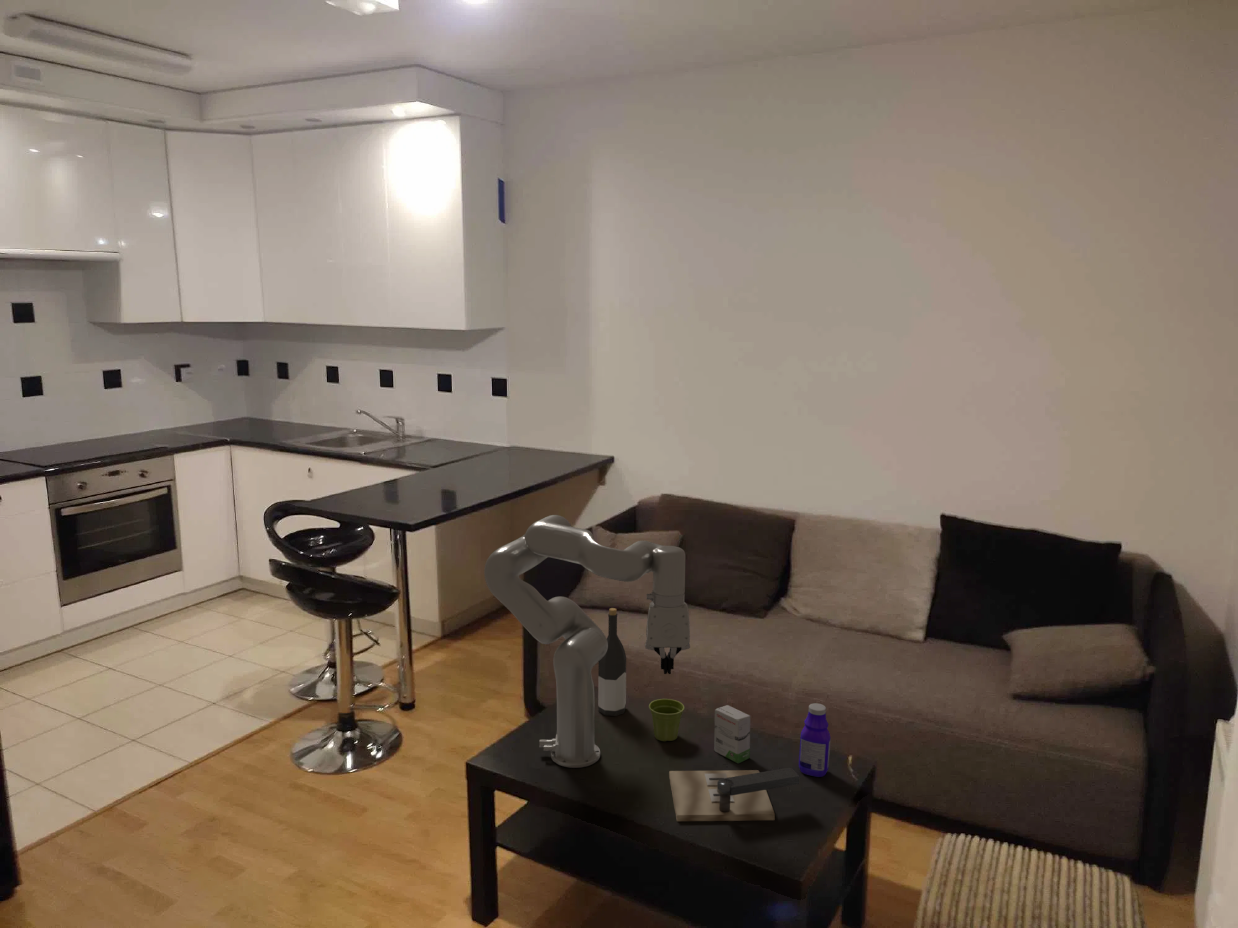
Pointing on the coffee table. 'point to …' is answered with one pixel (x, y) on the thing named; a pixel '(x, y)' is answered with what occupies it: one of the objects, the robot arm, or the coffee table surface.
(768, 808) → the label board
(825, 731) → the bottle
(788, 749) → the coffee table surface
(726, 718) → the ink box
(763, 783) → the swing bar
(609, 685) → the wine bottle
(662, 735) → the plant pot
